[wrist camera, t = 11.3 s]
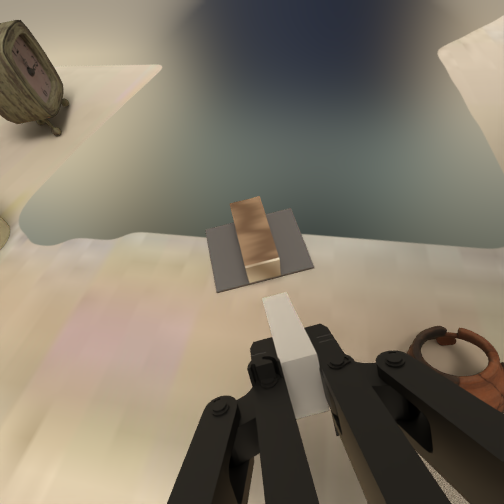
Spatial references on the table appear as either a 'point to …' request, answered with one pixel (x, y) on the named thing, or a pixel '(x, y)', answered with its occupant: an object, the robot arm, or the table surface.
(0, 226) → the reusable coffee cup
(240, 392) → the table surface
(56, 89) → the tabletop clock
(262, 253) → the walnut block
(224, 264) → the rubber mat
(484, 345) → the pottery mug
